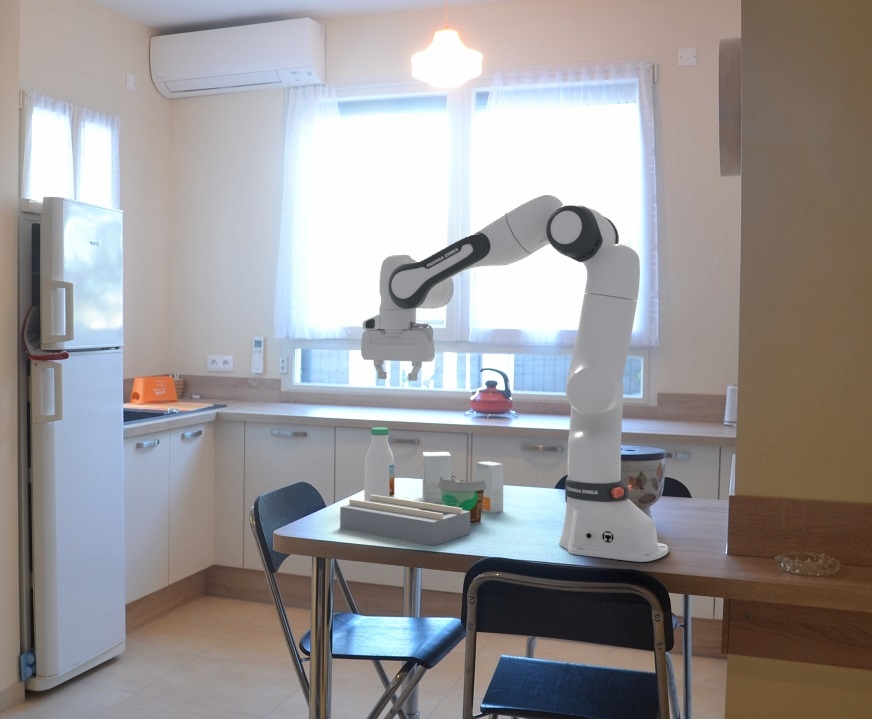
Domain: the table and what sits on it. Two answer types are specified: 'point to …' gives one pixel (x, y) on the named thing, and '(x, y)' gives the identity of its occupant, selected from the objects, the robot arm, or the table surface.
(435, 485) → the supplement box
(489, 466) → the skincare box
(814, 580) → the table surface
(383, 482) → the milk bottle
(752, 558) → the table surface
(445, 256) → the robot arm
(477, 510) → the food container
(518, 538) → the table surface
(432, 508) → the grey slotted tray
